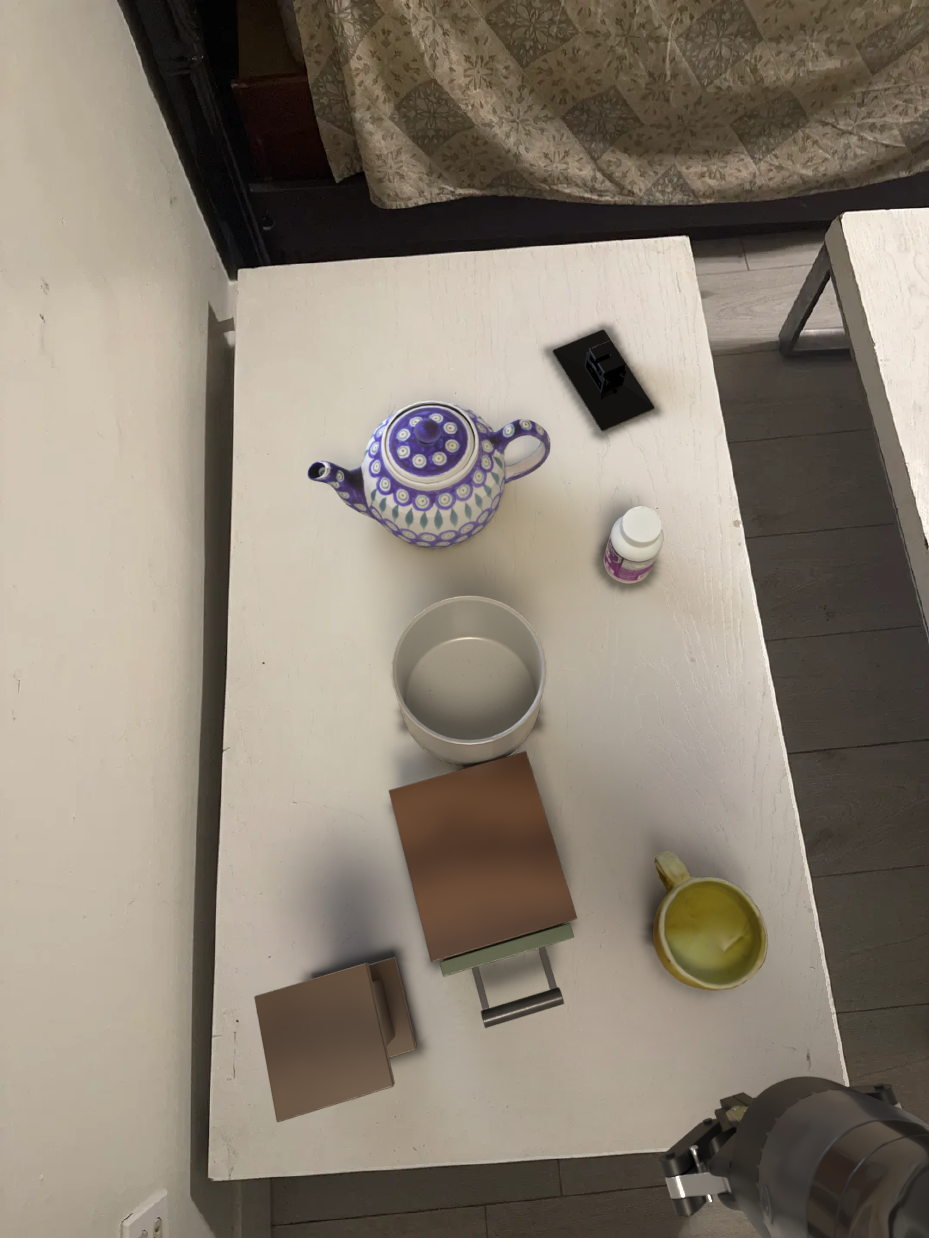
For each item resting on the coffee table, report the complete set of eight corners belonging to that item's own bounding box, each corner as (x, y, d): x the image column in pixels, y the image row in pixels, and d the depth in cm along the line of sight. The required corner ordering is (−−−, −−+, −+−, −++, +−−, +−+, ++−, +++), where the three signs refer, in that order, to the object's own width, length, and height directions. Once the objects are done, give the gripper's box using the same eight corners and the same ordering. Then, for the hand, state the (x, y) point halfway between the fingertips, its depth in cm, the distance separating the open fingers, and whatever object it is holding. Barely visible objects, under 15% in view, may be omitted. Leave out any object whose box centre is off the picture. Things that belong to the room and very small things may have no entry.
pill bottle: (599, 541, 96) (612, 500, 87) (648, 538, 96) (665, 497, 87) (605, 587, 94) (618, 549, 85) (654, 584, 94) (673, 546, 85)
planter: (408, 658, 92) (392, 596, 75) (532, 656, 91) (543, 594, 75) (407, 782, 87) (389, 745, 70) (537, 780, 87) (550, 743, 70)
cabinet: (566, 920, 82) (577, 918, 72) (437, 959, 81) (431, 962, 71) (521, 772, 87) (526, 750, 77) (399, 806, 86) (388, 789, 76)
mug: (790, 979, 78) (783, 970, 70) (682, 1011, 81) (662, 1006, 72) (737, 848, 85) (724, 825, 76) (637, 881, 87) (615, 863, 79)
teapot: (533, 426, 101) (541, 343, 87) (559, 545, 96) (573, 477, 82) (318, 459, 100) (291, 381, 86) (332, 581, 95) (306, 518, 81)
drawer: (582, 992, 79) (593, 998, 71) (461, 1029, 78) (458, 1040, 70) (523, 796, 86) (527, 781, 77) (410, 828, 85) (402, 816, 76)
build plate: (551, 352, 105) (554, 326, 100) (605, 330, 106) (610, 304, 101) (601, 432, 100) (606, 409, 96) (656, 408, 101) (664, 384, 97)
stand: (417, 1047, 79) (393, 1086, 58) (331, 1074, 78) (276, 1122, 58) (395, 956, 82) (366, 962, 61) (312, 981, 81) (253, 996, 60)
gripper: (735, 1361, 33) (652, 1222, 49) (1052, 1251, 34) (868, 1150, 50) (666, 1143, 36) (609, 1079, 52) (963, 1047, 37) (816, 1013, 53)
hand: (737, 1114), depth 51 cm, fingers closed
